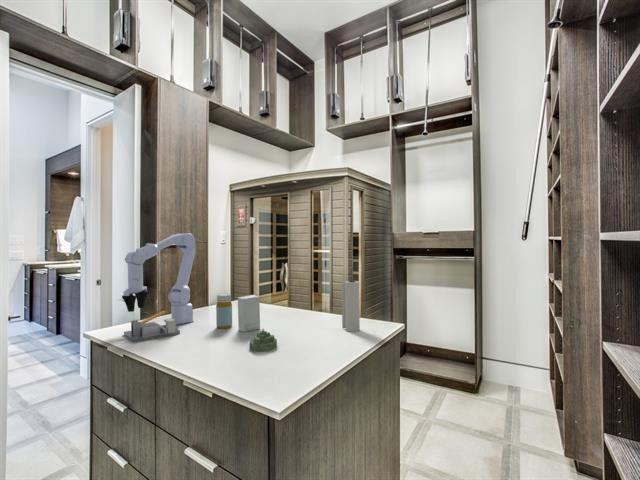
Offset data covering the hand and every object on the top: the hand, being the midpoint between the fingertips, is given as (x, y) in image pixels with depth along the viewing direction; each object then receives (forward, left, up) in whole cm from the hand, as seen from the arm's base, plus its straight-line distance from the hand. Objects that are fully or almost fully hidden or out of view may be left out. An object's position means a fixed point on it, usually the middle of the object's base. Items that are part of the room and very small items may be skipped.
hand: (136, 309), depth 145 cm
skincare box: (-38, +31, -10) cm, 50 cm away
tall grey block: (-70, +64, -10) cm, 95 cm away
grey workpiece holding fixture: (-4, +7, -10) cm, 13 cm away
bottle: (-32, +19, -10) cm, 39 cm away
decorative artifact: (-29, +57, -11) cm, 65 cm away
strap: (-4, +7, -4) cm, 9 cm away
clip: (-10, +13, -9) cm, 18 cm away
